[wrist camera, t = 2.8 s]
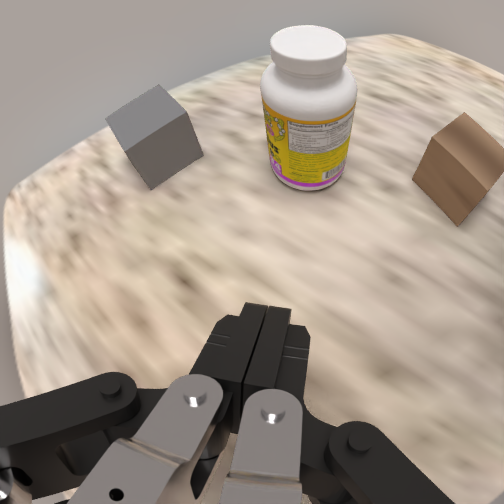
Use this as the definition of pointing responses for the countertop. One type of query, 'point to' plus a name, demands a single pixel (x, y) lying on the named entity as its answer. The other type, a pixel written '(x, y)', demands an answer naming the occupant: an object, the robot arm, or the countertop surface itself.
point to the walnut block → (460, 167)
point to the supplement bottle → (308, 106)
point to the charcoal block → (155, 135)
